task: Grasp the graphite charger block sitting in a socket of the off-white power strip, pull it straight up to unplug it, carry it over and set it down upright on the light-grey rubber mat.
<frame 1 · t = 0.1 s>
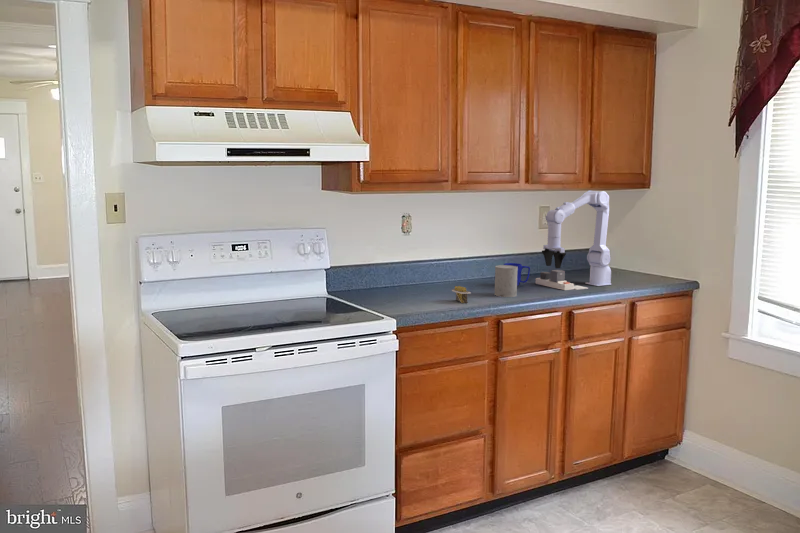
hand: (553, 266, 306), 10 cm above the worktop, fingers open, 7 cm apart
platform: (459, 303, 275), on the worktop
mat: (577, 287, 310), on the worktop
mug: (516, 286, 315), on the worktop
power strip: (554, 286, 314), on the worktop
gray concrete cylinder: (505, 295, 291), on the worktop
charger: (557, 281, 312), point 3 cm above the worktop, touching power strip
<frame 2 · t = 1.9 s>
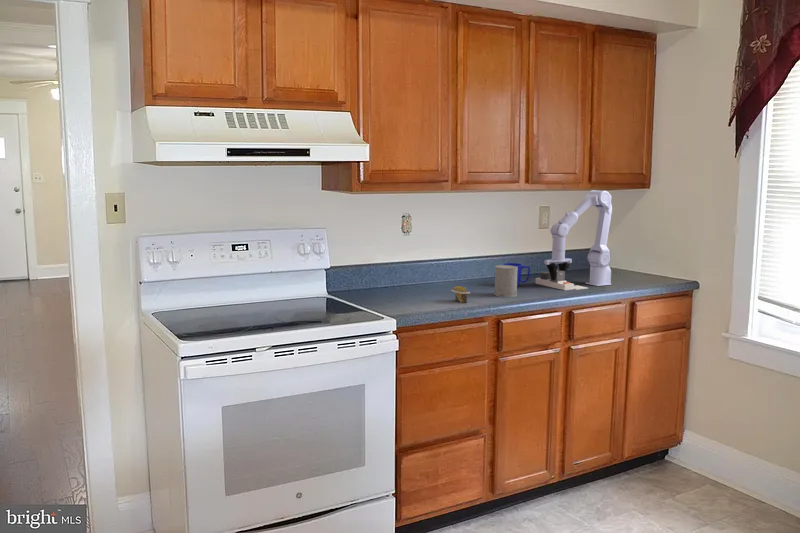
hand: (557, 279, 312), 4 cm above the worktop, fingers closed on charger, 4 cm apart
charger: (557, 281, 312), point 3 cm above the worktop, touching gripper, power strip
everything else where it was.
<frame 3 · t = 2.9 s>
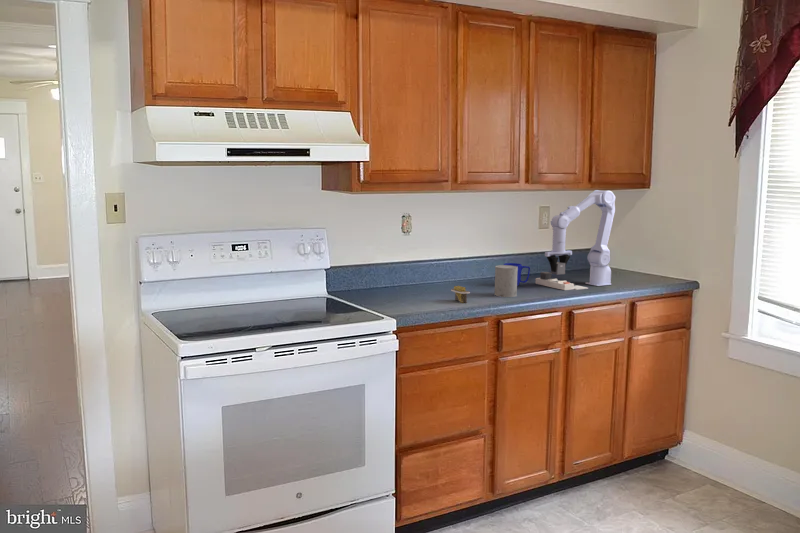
hand: (557, 271, 311), 7 cm above the worktop, fingers closed on charger, 4 cm apart
charger: (557, 273, 311), point 6 cm above the worktop, touching gripper
everything else where it was.
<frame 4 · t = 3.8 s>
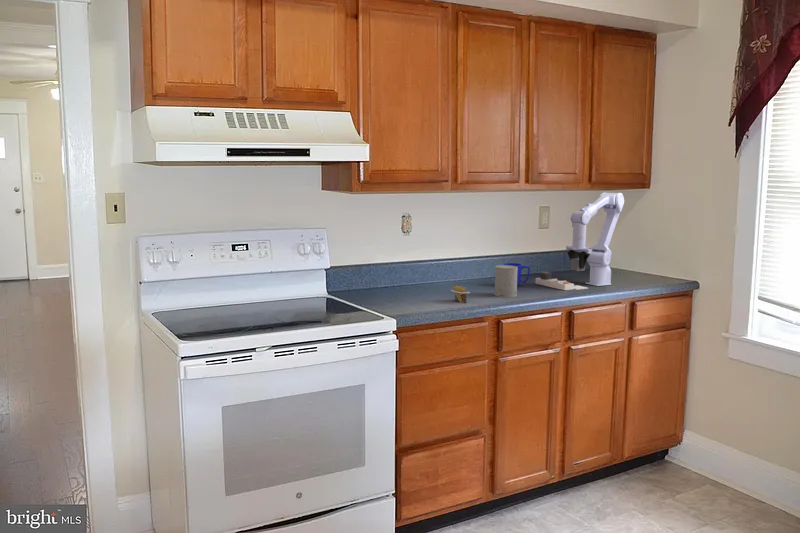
hand: (577, 267, 309), 9 cm above the worktop, fingers closed on charger, 4 cm apart
charger: (577, 270, 309), point 8 cm above the worktop, touching gripper
everything else where it was.
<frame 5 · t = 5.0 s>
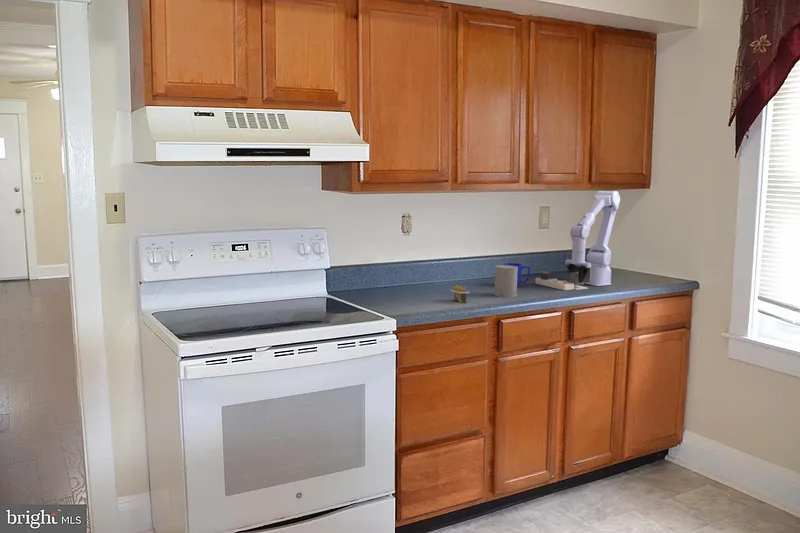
hand: (577, 281, 310), 3 cm above the worktop, fingers closed on charger, 4 cm apart
charger: (577, 283, 310), point 2 cm above the worktop, touching gripper
everything else where it was.
when the fingers open (3 cm above the worktop, at t = 5.9 s): charger drops 1 cm, resting on mat.
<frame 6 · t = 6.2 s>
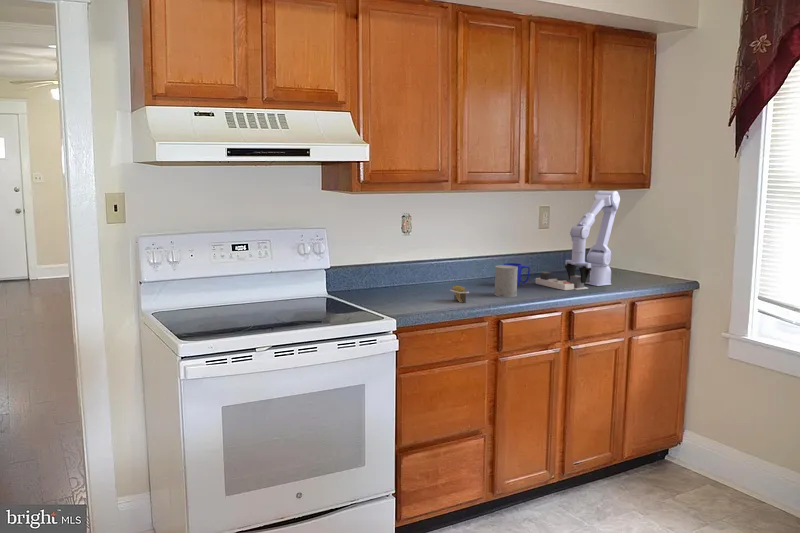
hand: (577, 281, 310), 3 cm above the worktop, fingers open, 7 cm apart
charger: (576, 287, 310), resting on mat
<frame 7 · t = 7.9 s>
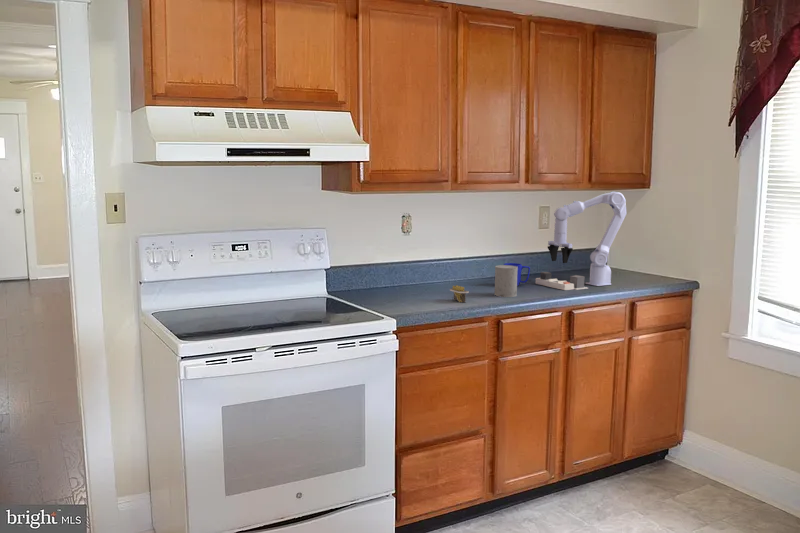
hand: (559, 261, 320), 10 cm above the worktop, fingers open, 7 cm apart
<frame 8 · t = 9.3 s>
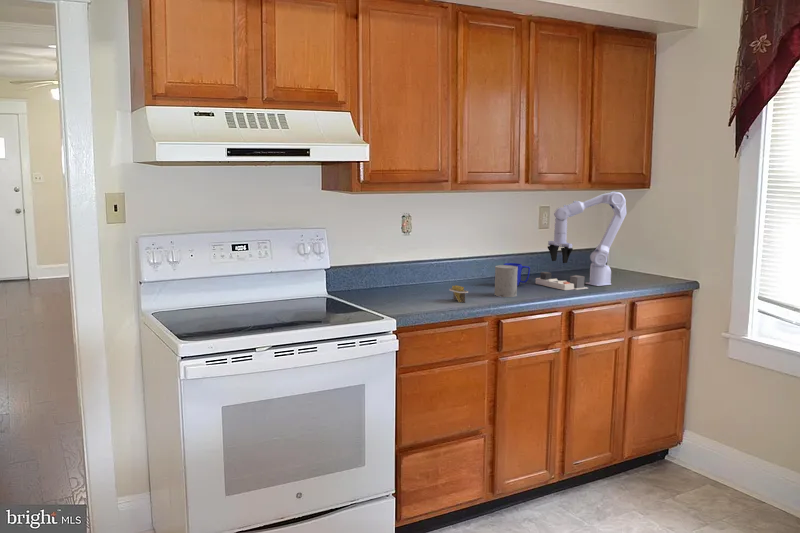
hand: (559, 261, 320), 10 cm above the worktop, fingers open, 7 cm apart
at the end: charger inside the target area on the mat (0.1 cm from its centre), point 0.4 cm above the mat's base; charger tilted 0°; charger touching mat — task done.
